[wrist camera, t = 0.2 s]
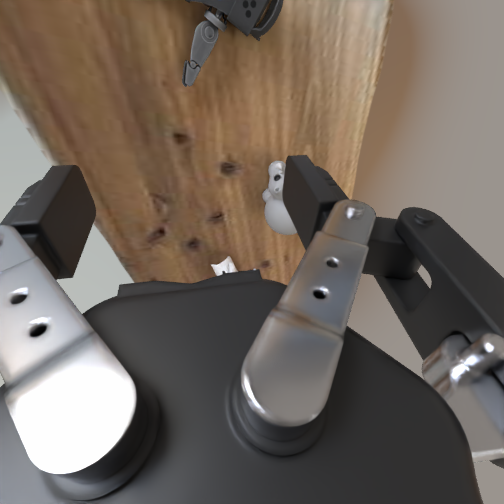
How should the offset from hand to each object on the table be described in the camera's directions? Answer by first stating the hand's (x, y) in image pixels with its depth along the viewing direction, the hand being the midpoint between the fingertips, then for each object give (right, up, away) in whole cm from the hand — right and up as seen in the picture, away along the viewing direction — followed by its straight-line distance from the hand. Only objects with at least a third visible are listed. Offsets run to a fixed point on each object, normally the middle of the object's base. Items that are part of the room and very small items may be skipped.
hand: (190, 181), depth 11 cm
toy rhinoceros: (+7, +9, +34) cm, 36 cm away
